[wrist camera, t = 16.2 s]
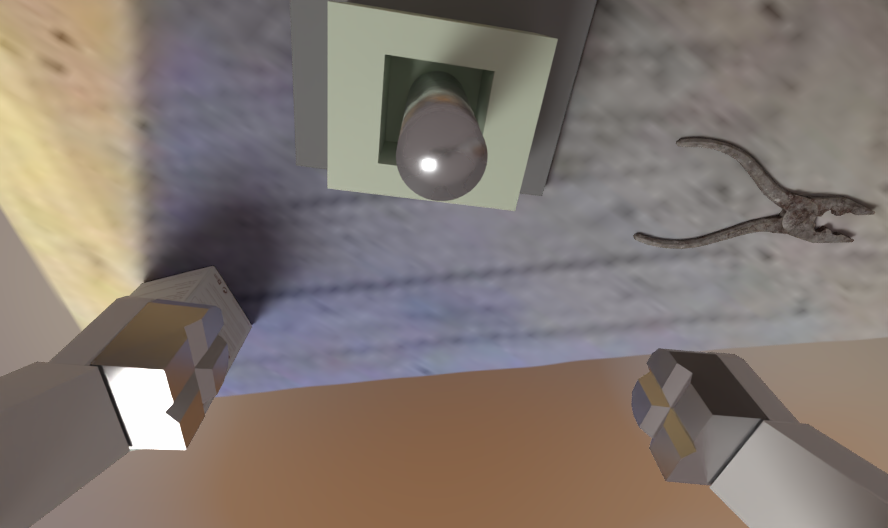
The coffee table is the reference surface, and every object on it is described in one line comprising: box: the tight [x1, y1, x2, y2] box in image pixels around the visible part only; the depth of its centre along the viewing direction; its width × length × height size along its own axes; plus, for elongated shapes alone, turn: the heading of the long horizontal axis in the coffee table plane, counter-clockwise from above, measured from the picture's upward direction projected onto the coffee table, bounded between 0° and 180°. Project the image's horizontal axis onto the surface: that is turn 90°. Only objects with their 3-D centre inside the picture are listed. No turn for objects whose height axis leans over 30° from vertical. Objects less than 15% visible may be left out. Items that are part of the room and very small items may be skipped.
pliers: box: [633, 138, 875, 249], centre depth 35 cm, size 10×1×20 cm
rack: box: [328, 1, 558, 211], centre depth 27 cm, size 12×10×6 cm
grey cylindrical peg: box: [396, 71, 488, 201], centre depth 24 cm, size 4×4×12 cm
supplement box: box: [130, 266, 252, 451], centre depth 34 cm, size 7×7×13 cm
